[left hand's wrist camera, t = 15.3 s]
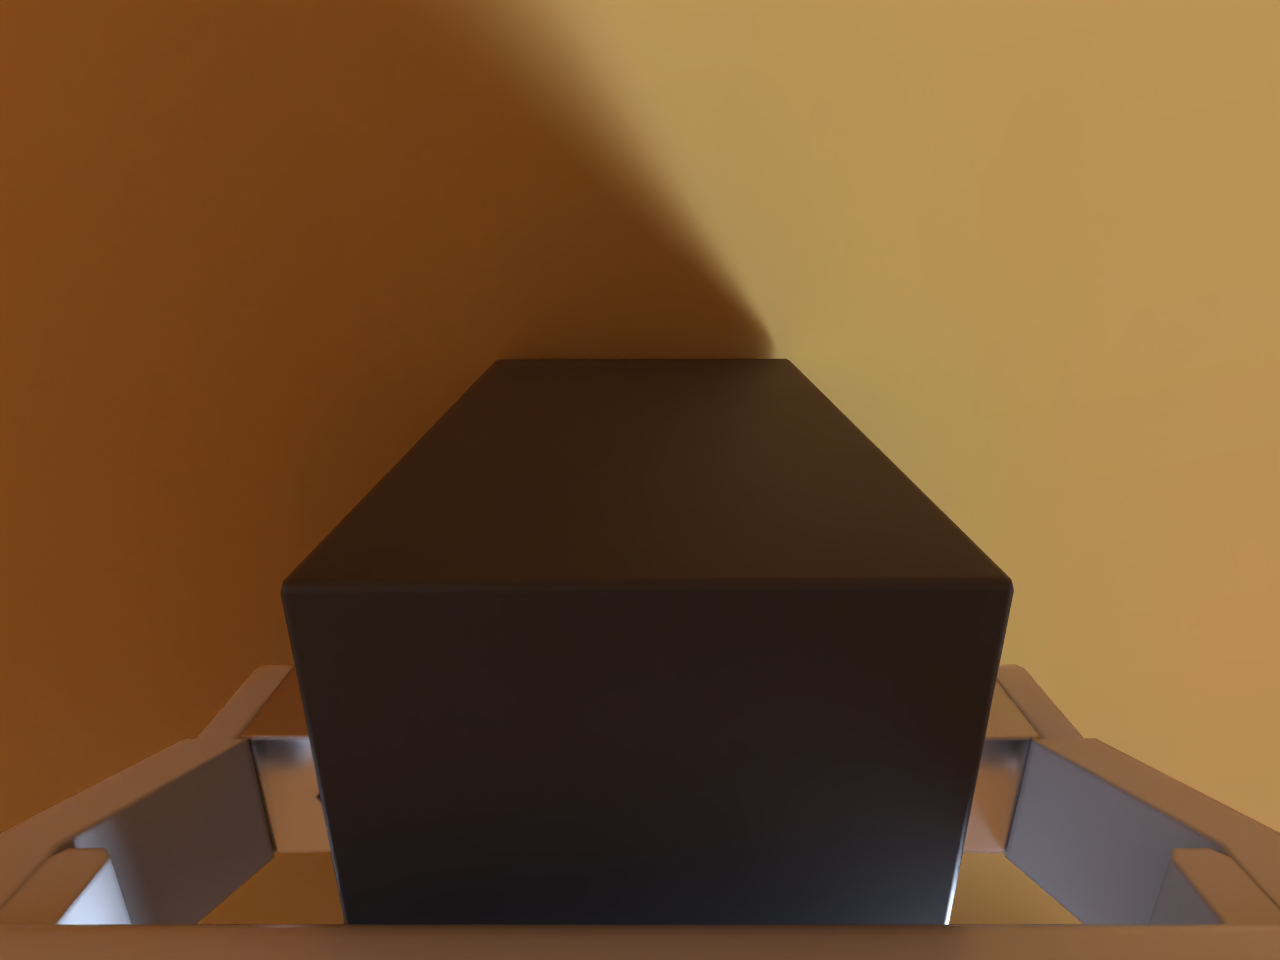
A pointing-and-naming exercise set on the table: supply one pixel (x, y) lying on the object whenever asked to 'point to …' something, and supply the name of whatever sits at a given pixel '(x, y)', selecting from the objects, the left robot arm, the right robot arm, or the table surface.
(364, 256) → the table surface
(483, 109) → the table surface
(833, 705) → the bar
